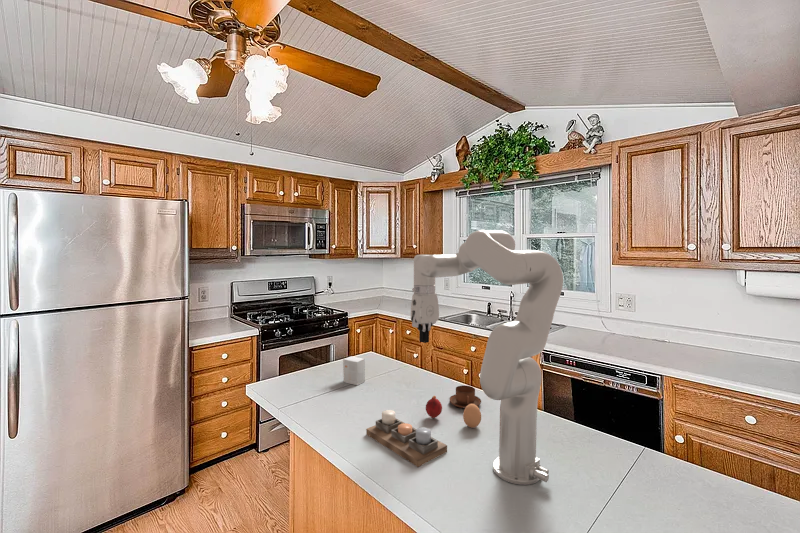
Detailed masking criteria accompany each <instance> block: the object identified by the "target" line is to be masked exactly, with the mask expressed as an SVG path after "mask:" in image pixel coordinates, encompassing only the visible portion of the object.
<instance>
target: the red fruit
mask: <svg viewBox="0 0 800 533" xmlns="http://www.w3.org/2000/svg"><path fill="white" fill-rule="evenodd" d="M442 411H443V406H442V403H441V401H440V400H439V399H437V396H436V395H433V396H432V397H431V399H429V400H428V401H427V402H426V404H425V412H426V413H427V415H428V416H429V417H430V418H432V419H436V418H437V417H439V416H440V415H441V414H442Z"/></svg>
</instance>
